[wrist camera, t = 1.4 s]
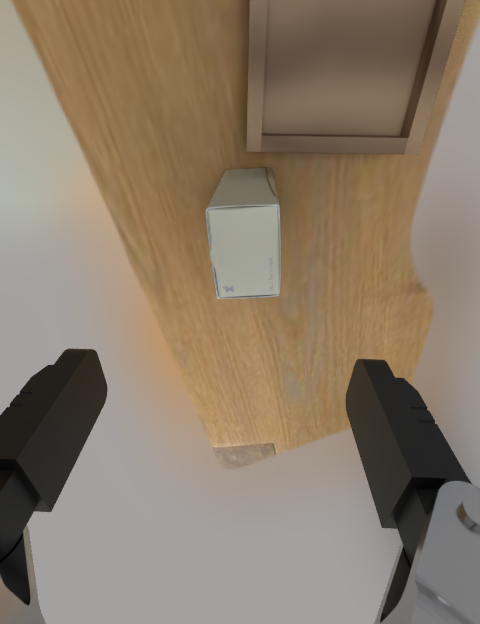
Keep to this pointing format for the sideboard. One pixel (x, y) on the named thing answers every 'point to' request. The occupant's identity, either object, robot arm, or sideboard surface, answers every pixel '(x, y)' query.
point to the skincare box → (245, 234)
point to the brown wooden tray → (345, 73)
